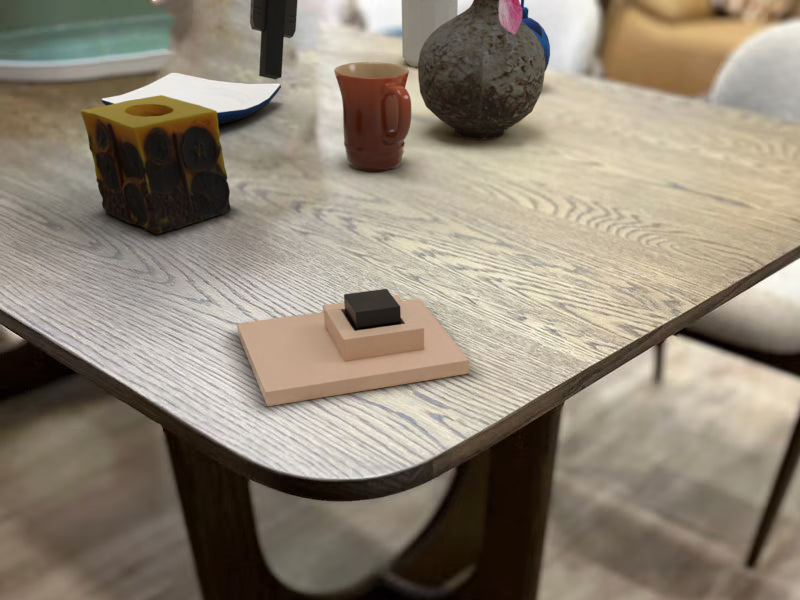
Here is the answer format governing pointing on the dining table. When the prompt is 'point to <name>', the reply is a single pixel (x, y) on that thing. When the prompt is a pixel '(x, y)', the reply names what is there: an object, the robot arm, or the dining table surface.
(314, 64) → the dining table surface
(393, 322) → the key
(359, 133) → the mug
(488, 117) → the vase
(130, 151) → the candle
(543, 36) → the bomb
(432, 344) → the tan stepped platform
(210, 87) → the plate
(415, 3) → the jar
